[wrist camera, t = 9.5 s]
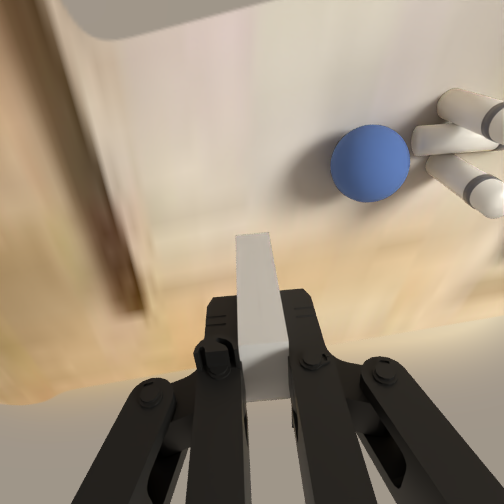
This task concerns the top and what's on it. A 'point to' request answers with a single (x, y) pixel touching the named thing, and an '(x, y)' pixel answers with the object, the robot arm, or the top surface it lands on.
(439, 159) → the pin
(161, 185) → the top surface
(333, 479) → the robot arm
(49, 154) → the top surface
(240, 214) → the top surface
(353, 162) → the ball
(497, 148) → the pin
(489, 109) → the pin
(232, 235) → the top surface
